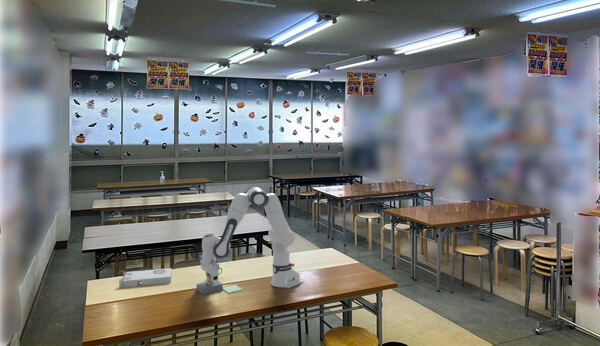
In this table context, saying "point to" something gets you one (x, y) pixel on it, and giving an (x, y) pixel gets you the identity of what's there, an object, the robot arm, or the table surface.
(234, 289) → the mat
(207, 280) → the plug
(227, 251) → the robot arm
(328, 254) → the table surface
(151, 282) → the power supply unit
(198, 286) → the gray rectangular block
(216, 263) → the coffee mug
